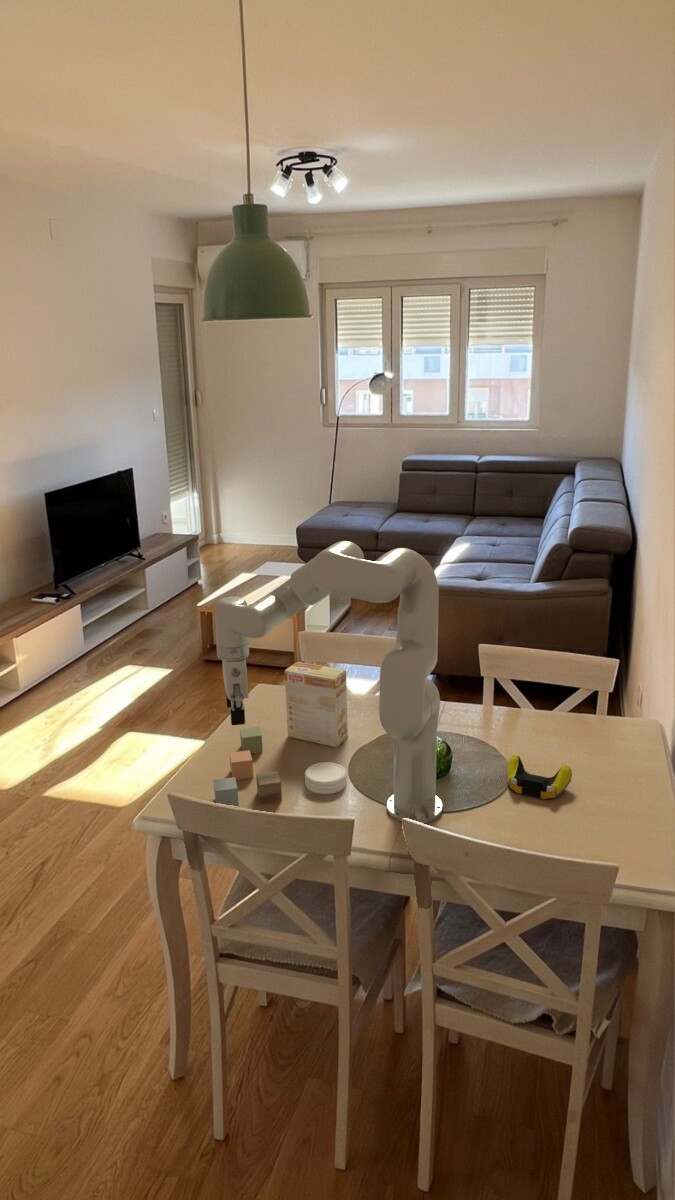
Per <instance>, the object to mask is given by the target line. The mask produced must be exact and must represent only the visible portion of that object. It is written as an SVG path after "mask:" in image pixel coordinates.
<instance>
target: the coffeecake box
mask: <svg viewBox="0 0 675 1200" xmlns="http://www.w3.org/2000/svg"><path fill="white" fill-rule="evenodd" d="M284 686H285V705H286V706H285V707H286V725H287V737H288V738H292V739H298V740H302V741H305V742H311V743H315V744H320V745H323V746H330V747H333V748H338V747H339V746H340V745H341V743H343V742H344V741H345V740H347V738H348V737H349V735H348V734H349V733H348V732H349V731H348V700H347V699H348V695H347V693H348V692H347V691H348V690H347V687H348V686H347V670H346V669H342V668H337V667H330V666H326V665H324V666H323V665H318V664H313V663H307V662H300V661H296V662H294V663H293V664H292V665H291V666H288V667H287V668H286V669H285V670H284Z"/></svg>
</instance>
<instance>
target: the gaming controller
mask: <svg viewBox="0 0 675 1200" xmlns="http://www.w3.org/2000/svg"><path fill="white" fill-rule="evenodd" d="M506 771H507V773H506V779H507V785H508V787H509V789H511V790H513V791H514V792H515V793H517V794H519V795H520V794H522V795H525V796H530V797H535V798H540V799H542V800H545V799H546V800H547V799H549V800H550V799H555V798H556V797H558V796H560V795H561V794H562V793H563V792H564V791H565V790H566V789H567V787H568V786H569V784H570V783H571V781H572V777H573V771H572V769H571V767H570V766H569V765H567V764H563V765H562V766H561V767H560V768H559V769H558V771H557V772H556V773H555V774H554V776H551V777H546V776H542V775H538V774H537V775H536V774H533V773H532V774H531V773H529V772H528V771H526V769H525V767H524V763H523V762H522V759H521V757H520V755H518V754H513V755H512V756H511V757H510V758H509V759H508V762H507V767H506Z"/></svg>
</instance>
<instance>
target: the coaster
mask: <svg viewBox="0 0 675 1200" xmlns="http://www.w3.org/2000/svg"><path fill="white" fill-rule="evenodd" d="M347 774H348V773H347V770H346V768H345V767H344V766H342V765H341V764H339V763H336V762H330V761H328V762H325V761H324V762H317V763H314V764H311V766H308V767H307V768H306V770H305V772H304V781H305V782H304V784H305V787H306V788H307V791H309V792H312V793H314V794H318V795H332V794H337V793H340V792H342V791H343V790H344V789H345V788H346V786H347V783H348V781H347V780H348V777H347V776H348V775H347Z"/></svg>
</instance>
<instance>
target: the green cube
mask: <svg viewBox="0 0 675 1200" xmlns="http://www.w3.org/2000/svg"><path fill="white" fill-rule="evenodd" d="M239 733H240V734H239V735H240V747H242V748H241V751H247V750H250V753H255V752H263V751H264V749H263V735H262V731H261V729H260V726H256V727H247V728H240V729H239ZM255 754H256V753H255Z"/></svg>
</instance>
